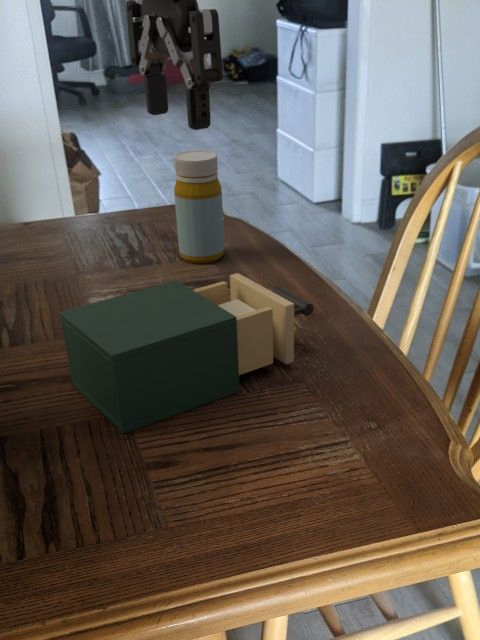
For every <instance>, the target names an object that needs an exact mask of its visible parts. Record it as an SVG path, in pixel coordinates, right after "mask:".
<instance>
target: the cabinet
mask: <svg viewBox="0 0 480 640" xmlns="http://www.w3.org/2000/svg"><path fill="white" fill-rule="evenodd" d="M193 290H194V289H192V288H190V287H188V286H187V285H185V284H183V283H182V282H180V281H179V280H177V279H175V280H172V281H167V282H165V283H161V284H158V285H154V286H150V287H147V288H143V289H139V290H136V291H132V292H129V293H125V294H121V295H117V296H114V297H109V298H107V299H104V300H100V301H95V302H91V303H88V304H85V305H81V306H77V307H74V308H70V309H67V310H62V311H59V318H60V324H61V329H62V335H63V340H64V345H65V346H64V347H65V351H66V356H67V362H68V367H69V372H70V377H71V383H72V387H73V388H75V389H76V391H78V392H79V393H80V394H81V395H82V396H83V397H84V398H85V399H86V400H87V401H88V402H90V404H91V405H92V406H94V408H96V409H97V410H98V411H99V413H101V414H102V415H103V416H104V417H105V418H106V419H107V420H108V421H109V422H110V423H111V424H112V425H113V426H114V427H116V428H117V429H118V430H119V431H120V432H121V433H122V434H124V435H125V434H127V433H130V432H132V431H135V430H138V429H140V428H144V427H146V426H149V425H152V424H154V423H158V422H159V421H163V420H166V419H168V418H171V417H173V416H176V415H179V414H182V413H184V412H187V411H190V410H193V409H196V408H198V407H201V406H204V405H207V404H209V403H211V402H215V401H217V400H220V399H222V398H225V397H228V396H231V395H234V394H236V393H239V392H240V391H241V390H240V375H239V365H238V341H237V324H236V323H237V319H236V316H234V315H233V314H231V313H229V312H228V311H226V310H224V309H223V308H221V307H220V306H218V305H216V304H215V303H213V302H211V301H210V300H208V299H206V298H205V297H203V296H202V295H200V294H198V293H197V292H195V291H193Z"/></svg>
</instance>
